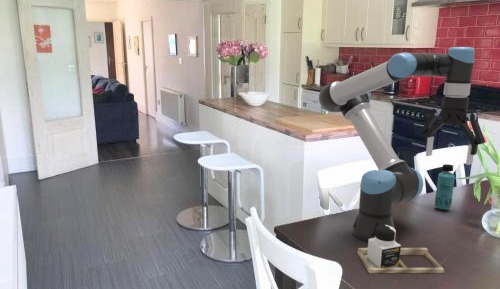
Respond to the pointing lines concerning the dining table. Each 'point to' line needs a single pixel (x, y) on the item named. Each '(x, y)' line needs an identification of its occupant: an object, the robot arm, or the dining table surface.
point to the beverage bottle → (445, 188)
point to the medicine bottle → (384, 247)
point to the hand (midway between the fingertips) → (448, 159)
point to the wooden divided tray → (396, 269)
